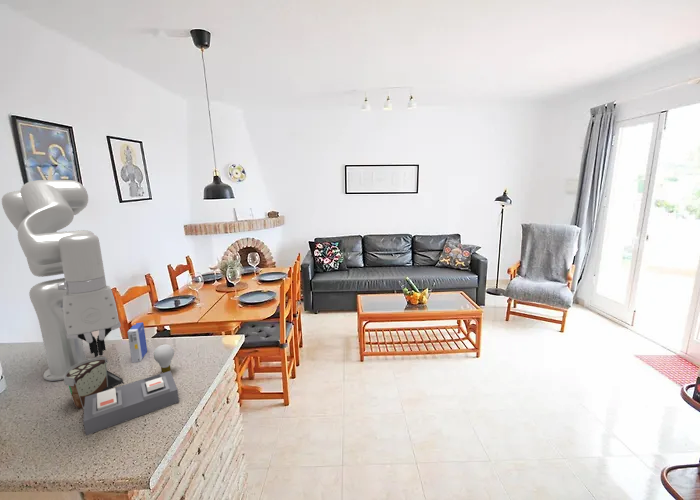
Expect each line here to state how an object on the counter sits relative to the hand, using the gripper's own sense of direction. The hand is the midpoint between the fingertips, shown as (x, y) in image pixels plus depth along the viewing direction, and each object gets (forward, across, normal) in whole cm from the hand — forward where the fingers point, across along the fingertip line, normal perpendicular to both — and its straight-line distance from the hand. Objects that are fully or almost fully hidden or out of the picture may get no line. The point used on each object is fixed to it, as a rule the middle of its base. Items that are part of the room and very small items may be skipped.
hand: (98, 354), depth 83 cm
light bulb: (+19, +16, +16) cm, 29 cm away
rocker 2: (+13, +11, +1) cm, 17 cm away
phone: (+20, -2, +24) cm, 31 cm away
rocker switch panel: (+19, +6, +3) cm, 20 cm away
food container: (+19, -6, +16) cm, 26 cm away
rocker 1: (+13, 0, +1) cm, 14 cm away
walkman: (+19, +10, +34) cm, 40 cm away
